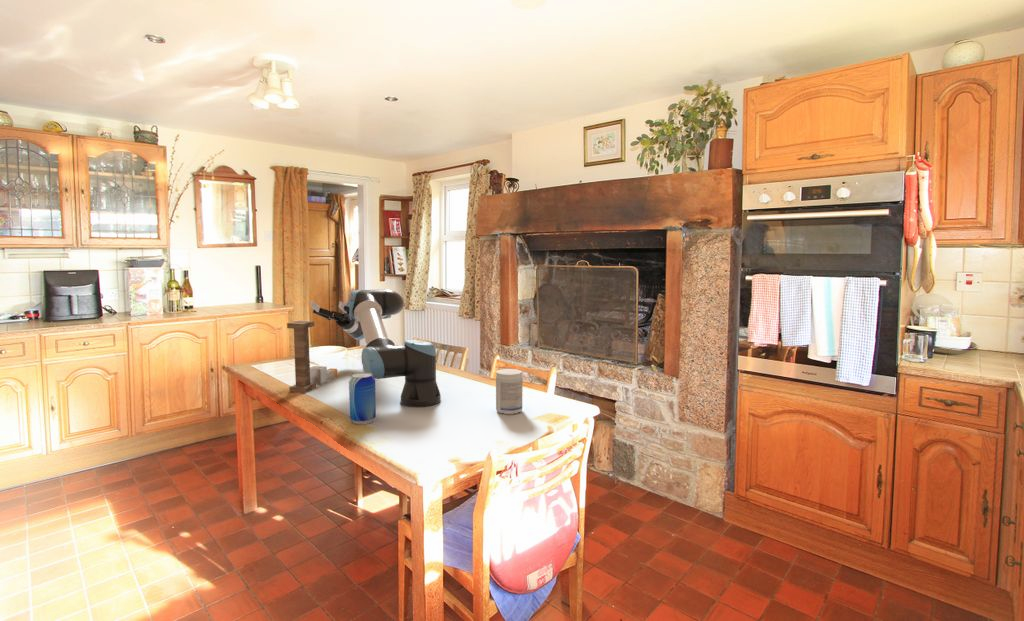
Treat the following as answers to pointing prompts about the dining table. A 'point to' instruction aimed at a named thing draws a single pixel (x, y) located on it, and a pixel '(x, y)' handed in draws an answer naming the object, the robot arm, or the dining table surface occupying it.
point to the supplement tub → (509, 391)
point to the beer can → (362, 398)
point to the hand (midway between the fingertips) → (325, 303)
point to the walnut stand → (302, 356)
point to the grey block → (321, 374)
